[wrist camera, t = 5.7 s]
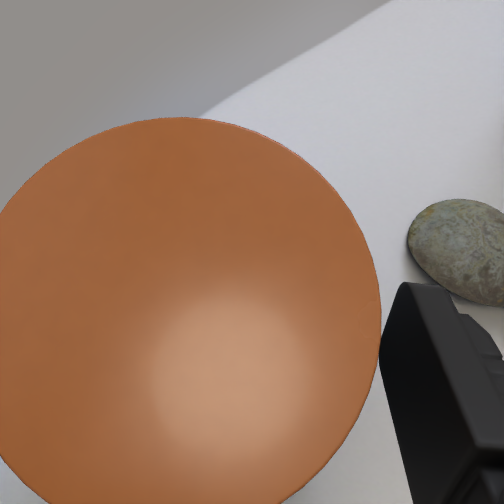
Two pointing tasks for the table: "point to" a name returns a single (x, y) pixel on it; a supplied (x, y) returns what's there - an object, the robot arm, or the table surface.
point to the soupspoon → (462, 248)
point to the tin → (181, 319)
